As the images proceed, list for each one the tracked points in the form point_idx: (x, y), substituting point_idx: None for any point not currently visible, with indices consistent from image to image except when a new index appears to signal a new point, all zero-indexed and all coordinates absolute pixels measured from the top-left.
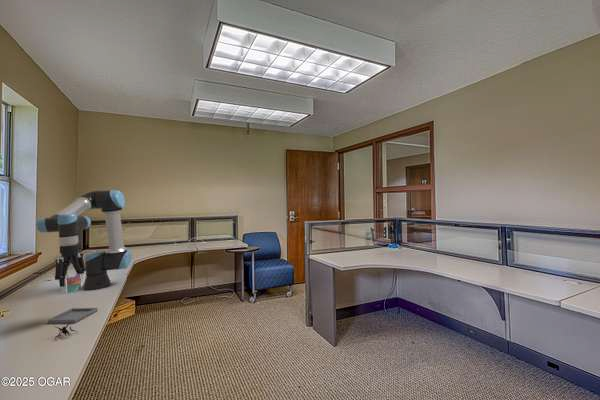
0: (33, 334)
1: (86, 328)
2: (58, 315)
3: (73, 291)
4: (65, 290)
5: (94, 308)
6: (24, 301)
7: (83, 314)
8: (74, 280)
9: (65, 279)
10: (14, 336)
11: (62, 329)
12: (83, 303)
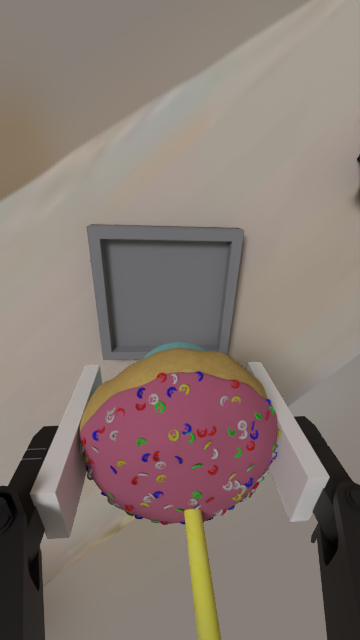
0: (313, 322)
1: (318, 98)
2: None
3: (200, 347)
4: (267, 378)
5: (98, 237)
6: (45, 548)
7: (181, 236)
8: (233, 406)
9: (324, 477)
10: (311, 370)
11: None
12: (14, 375)
